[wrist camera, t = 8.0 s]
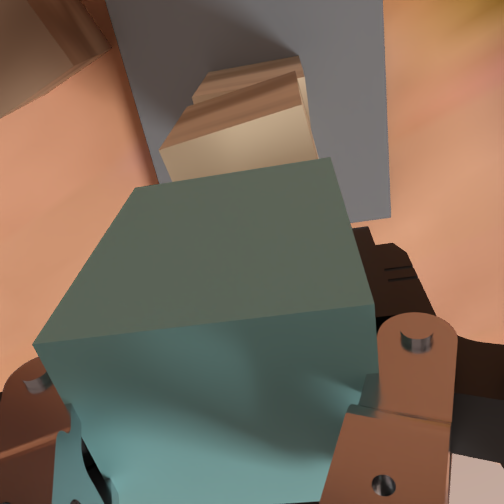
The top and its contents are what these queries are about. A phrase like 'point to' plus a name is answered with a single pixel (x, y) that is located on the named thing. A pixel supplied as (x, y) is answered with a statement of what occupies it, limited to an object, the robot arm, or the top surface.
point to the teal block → (218, 338)
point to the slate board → (262, 50)
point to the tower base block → (249, 78)
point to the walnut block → (43, 47)
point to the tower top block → (241, 131)
